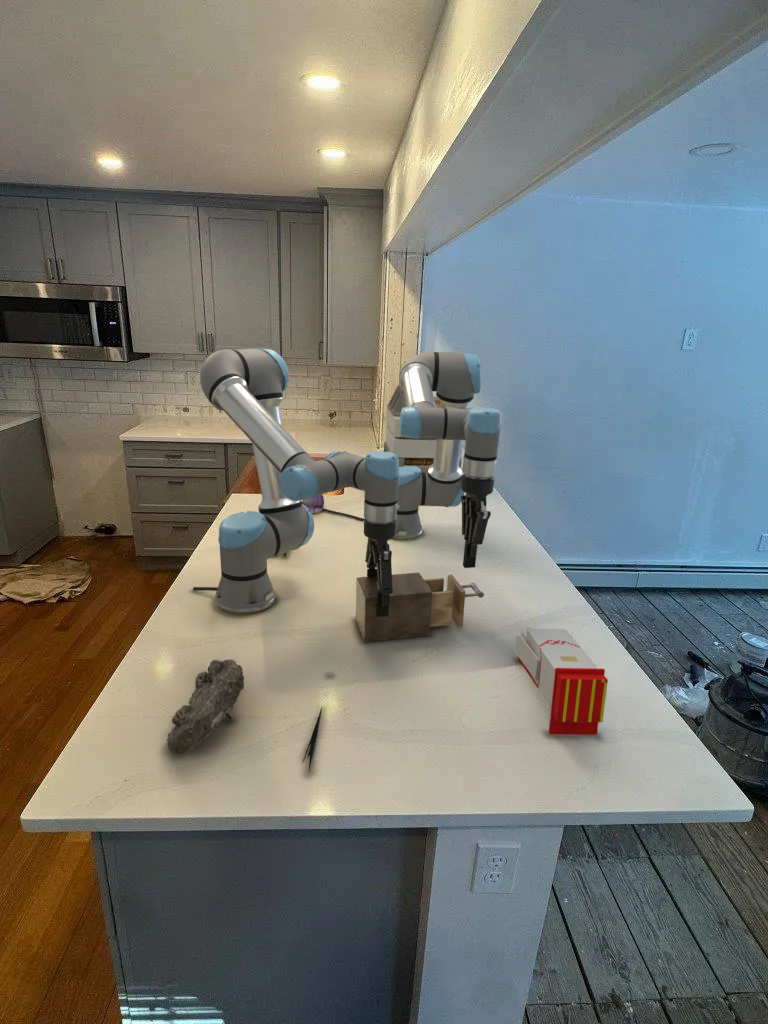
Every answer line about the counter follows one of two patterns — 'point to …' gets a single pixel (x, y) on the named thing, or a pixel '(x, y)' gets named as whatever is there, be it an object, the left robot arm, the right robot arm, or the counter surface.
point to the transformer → (407, 448)
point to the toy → (564, 680)
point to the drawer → (449, 600)
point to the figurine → (314, 504)
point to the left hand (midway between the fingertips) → (377, 603)
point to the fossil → (206, 705)
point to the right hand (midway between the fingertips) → (468, 566)
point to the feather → (313, 740)
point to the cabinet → (394, 608)
